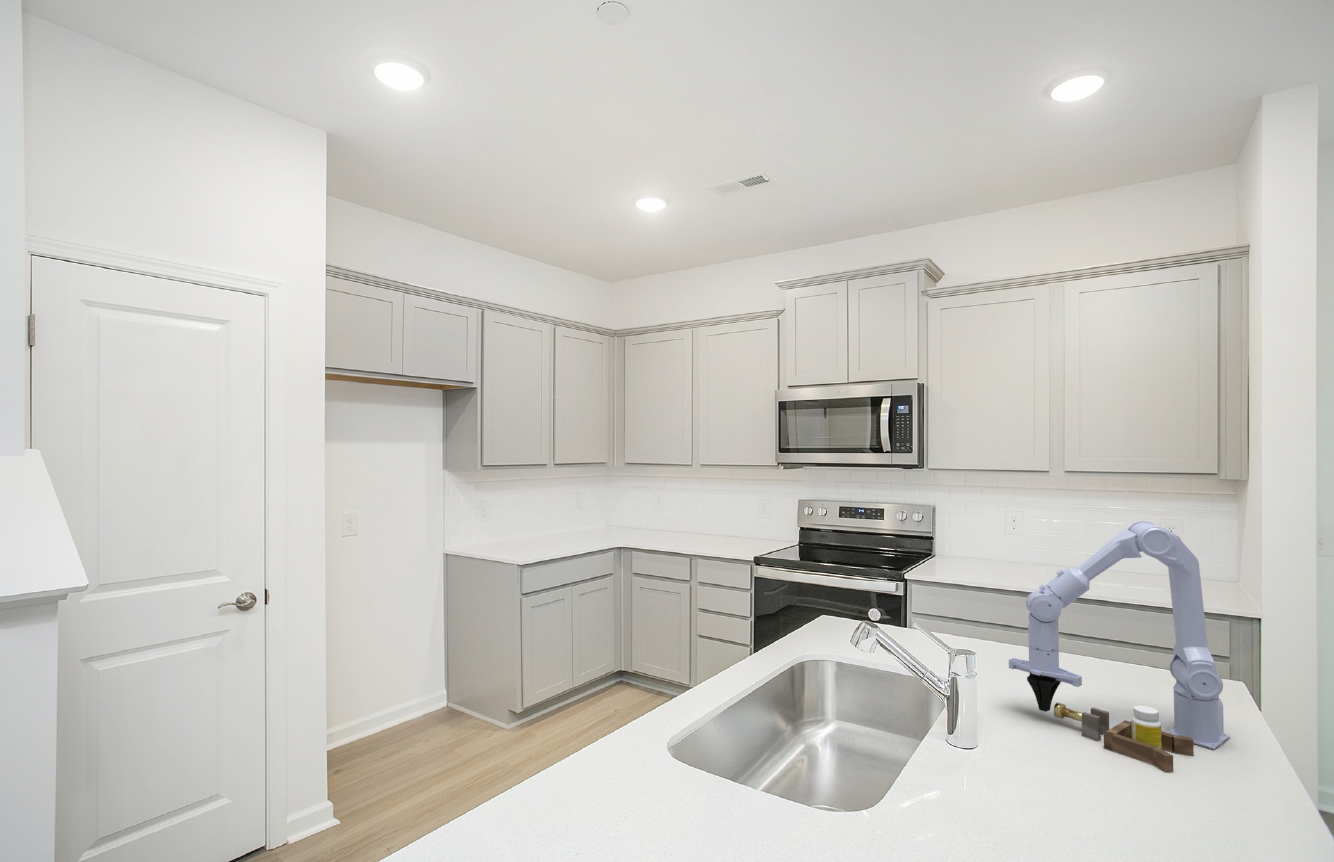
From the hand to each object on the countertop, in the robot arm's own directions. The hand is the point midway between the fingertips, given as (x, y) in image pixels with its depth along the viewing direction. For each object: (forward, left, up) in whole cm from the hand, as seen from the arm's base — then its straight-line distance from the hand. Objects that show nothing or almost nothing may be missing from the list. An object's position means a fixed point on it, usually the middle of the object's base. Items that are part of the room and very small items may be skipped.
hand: (1044, 710), depth 145 cm
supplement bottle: (0, +19, -2) cm, 19 cm away
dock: (0, +17, -2) cm, 17 cm away
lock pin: (0, +6, -1) cm, 6 cm away
